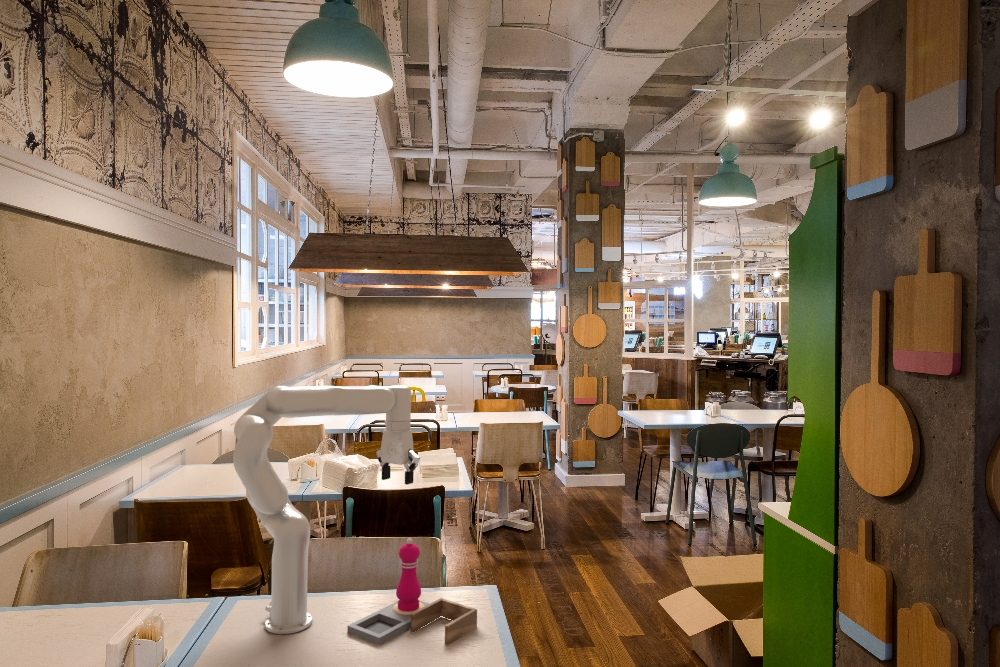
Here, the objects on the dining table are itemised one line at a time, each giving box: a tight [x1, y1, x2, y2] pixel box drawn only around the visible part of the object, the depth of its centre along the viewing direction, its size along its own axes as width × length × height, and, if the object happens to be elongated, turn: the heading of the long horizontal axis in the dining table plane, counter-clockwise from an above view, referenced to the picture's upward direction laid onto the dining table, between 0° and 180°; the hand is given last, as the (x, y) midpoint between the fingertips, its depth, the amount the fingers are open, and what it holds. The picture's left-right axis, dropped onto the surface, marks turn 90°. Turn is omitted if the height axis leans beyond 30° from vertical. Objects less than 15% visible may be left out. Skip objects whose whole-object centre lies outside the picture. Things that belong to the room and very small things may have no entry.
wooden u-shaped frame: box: [410, 597, 478, 646], centre depth 177 cm, size 13×13×5 cm
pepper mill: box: [395, 538, 422, 612], centre depth 186 cm, size 7×7×20 cm
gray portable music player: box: [346, 599, 430, 646], centre depth 181 cm, size 12×24×2 cm, turn 146°
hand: (397, 481), depth 197 cm, fingers open, 9 cm apart
